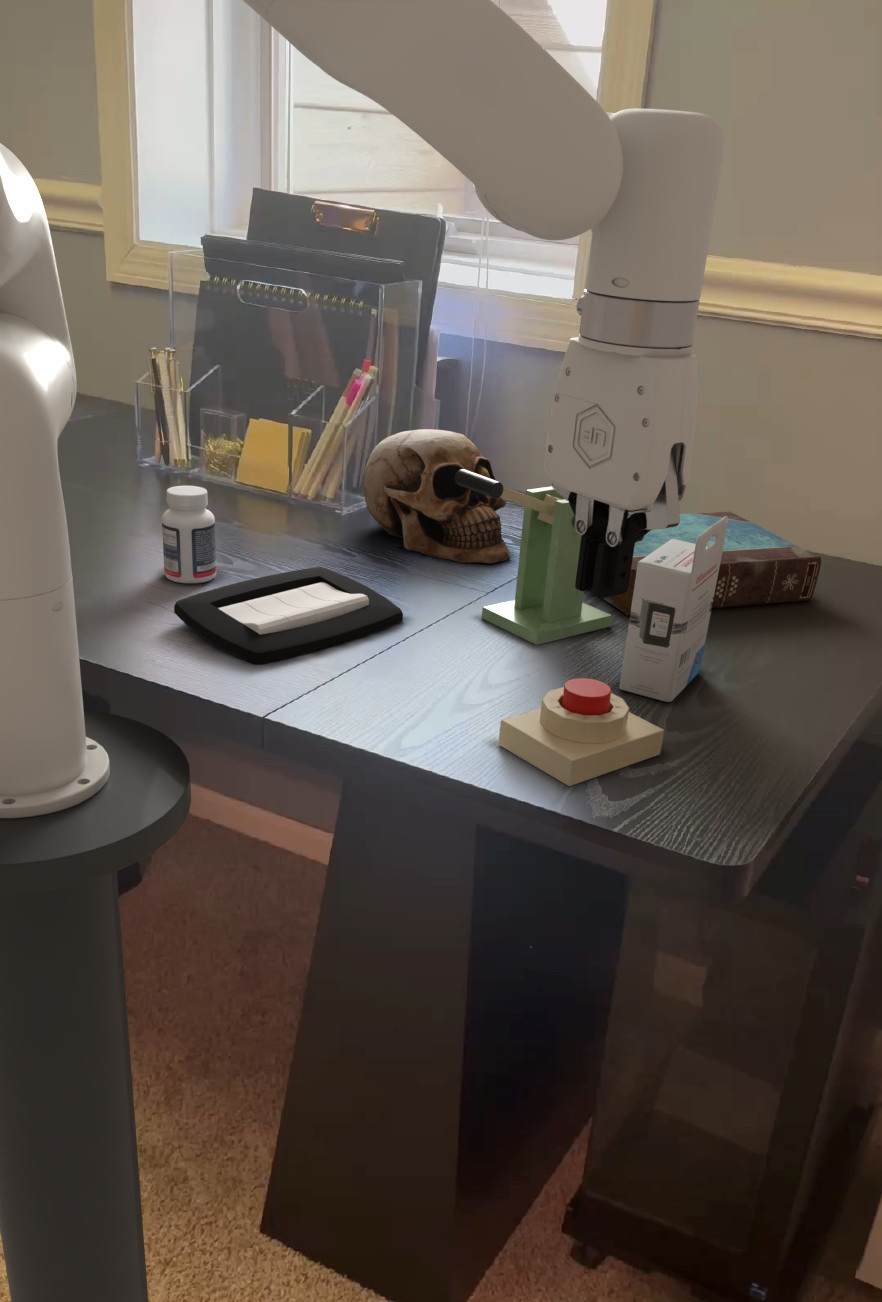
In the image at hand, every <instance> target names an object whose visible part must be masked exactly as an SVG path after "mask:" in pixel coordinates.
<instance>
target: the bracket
mask: <svg viewBox="0 0 882 1302" xmlns="http://www.w3.org/2000/svg"><path fill="white" fill-rule="evenodd" d="M546 494H547V495H550V496H553V497H555V498H558V499H561V500H557V501H555V507H554V515H553V524H549V523H547V522H544V521H542V520H539V519H537V518H538V515H539V511H536V510H533V509H531V508H528V507H525V506H523V517H522V527H521V536H520V546H519V548H520V549H519V554H518V555H519V556H518V565H517V566H518V567H517V576H516V586H515V597H514V599H513V600H508V601H503V602H500V603H499V602H498V603H495V604H490V605H486V606H482V611H481V619H482V620H485V621H486V622H488V623H491V624H492V625H495V626H497V627H498V628H500V629H503V630H505V631H506V632H509V633H511V634H513V635H515V636H517V637H519V638H521V639H523V640H525V641H527V642H529V643H531V644H533V645H535V646H538V645H543V644H546V643H550V642H554V641H558V640H562V639H567V638H570V637H574V636H578V635H582V634H586V633H589V632H593V631H598V630H602V629H606V628H610V627H611V625H612V619H613V617H612V616H613V615H612V614H610V613H608V612H605V611H603V610H601V609H599V608H596V607H594V606H592V605H590V604H588V603H584V594H585V591H580V590H578V589H576V588H575V582H576V574H577V567H578V559H579V551H580V543H581V537H582V535H579V534H578V533H577V532H576V529H575V515H574V513H573V511H572V508H571V506H570V504H569V501H567V500H566V499H564V498H563V497H562V496H561V495H560V494H559V493H557V492H556V491H555V490H554V489H553V486H552V485H551V486H544V487H539V488H532V489H531V488H530V489H526V490H525V495H528V496H530V497H533V498H536V499H539V500H541V501H544V499H545V496H546Z"/></svg>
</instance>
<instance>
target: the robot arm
mask: <svg viewBox="0 0 882 1302" xmlns="http://www.w3.org/2000/svg"><path fill="white" fill-rule="evenodd" d="M242 1H243V2H244V3H245V4H246V5H248V7H250V8H251V9H252V10H253V11H254V12H255V13H256V14H257V15H258V16H260V17H261V18H262V19H263V20H264V21H265V22H266V23H268V25H270V27H272V28H273V30H274V31H276V32H277V33H278V34H280V35H281V36H282V37H283V38H284V39H285V40H286V41H287V42H288V43H289V44H290V45H292V46H293V47H294V48H295V50H297V51H298V52H299V53H300V54H302V55H303V56H304V57H305V58H306V59H308V60H309V62H311V63H313V64H314V65H315V66H317V67H318V68H319V69H320V70H322V71H323V72H324V73H325V74H326V75H328V76H330V77H331V78H332V79H334V80H336V81H337V82H339V83H341V84H342V85H344V86H346V87H348V88H350V89H352V90H353V91H355V92H357V93H359V94H361V95H363V96H365V97H366V98H368V99H370V100H371V101H373V102H374V103H376V104H378V105H379V106H381V107H382V108H383V109H385V110H386V111H387V112H389V113H390V114H392V116H394V117H395V118H396V119H398V120H399V121H400V122H401V123H403V124H404V125H405V126H407V127H408V128H409V129H410V130H411V131H413V132H414V133H415V134H416V135H418V137H420V138H421V139H422V140H423V141H425V142H426V143H427V144H428V145H429V146H431V148H433V149H434V150H435V151H436V152H437V153H439V154H440V155H441V156H442V157H443V158H444V159H446V161H448V162H449V163H450V164H451V165H452V166H454V168H456V169H457V170H458V171H459V172H460V173H461V174H462V175H463V176H464V177H466V179H468V181H470V182H471V183H472V186H473V189H474V192H475V194H476V196H477V198H478V200H479V202H480V203H481V205H482V206H483V208H485V209H486V211H487V212H488V213H489V214H490V215H491V216H492V217H493V218H495V219H496V220H497V221H499V222H500V223H501V224H503V225H506V226H507V227H509V228H512V229H514V230H516V231H519V232H523V233H525V234H527V235H530V236H532V237H534V238H537V239H540V240H547V241H564V240H569V239H570V240H571V239H573V238H576V237H579V236H581V235H583V234H585V233H587V232H588V231H590V236H589V237H590V238H589V246H588V254H587V262H586V270H585V281H584V290H583V295H582V296H580V297H579V299H578V300H577V303H576V312H577V314H578V315H579V316H580V324H579V334H578V336H576V337H571V338H570V340H569V342H568V345H567V348H566V351H565V354H564V357H563V360H562V362H561V363H562V364H561V367H560V370H559V374H558V378H557V383H556V387H555V391H554V396H553V401H552V406H551V412H550V417H549V424H548V429H547V436H546V443H545V451H544V459H543V462H544V463H543V468H544V469H543V470H544V475H545V476H546V478H547V479H548V480H549V481H550V482H551V484H552V485H551V486H553V489H554V490H555V491H556V492H557V493H559V494H560V495H561V496H562V497H563V498H564V499H566V500H567V501H569V504H570V506H571V508H572V511H573V513H574V515H575V529H576V532H577V533H578V534H579V535H582V537H581V543H580V551H579V559H578V567H577V574H576V582H575V588H576V589H578V590H580V591H584V592H587V591H591V590H592V591H591V594H592V596H593V597H594V598H596V599H599V600H602V599H603V598H607V597H611V596H615V595H620V594H624V593H626V592H627V590H628V586H629V580H630V573H631V567H632V560H633V553H634V546H635V543H636V542H641V541H642V540H643V539H644V536H645V535H646V534H647V533H648V532H649V531H651V530H654V529H666V528H671V527H676V526H678V525H679V523H680V514H681V513H680V501H682V500H683V499H684V497H685V494H686V492H687V491H686V490H687V487H688V483H689V479H690V474H691V468H692V463H693V454H694V448H695V440H696V439H695V438H696V437H695V436H696V429H697V428H696V427H697V414H698V394H699V393H698V391H699V388H698V382H699V381H698V380H699V378H698V376H699V375H698V373H699V372H698V371H699V370H698V355H697V354H695V353H693V346H694V338H695V332H696V326H697V322H698V321H697V320H698V313H699V307H700V302H701V296H702V290H703V284H704V278H705V272H706V265H707V258H708V252H709V246H710V241H711V240H710V239H711V234H712V228H713V222H714V221H713V220H714V213H715V208H716V202H717V197H718V196H717V195H718V191H719V190H718V189H719V184H720V183H719V182H720V178H721V177H720V176H721V172H722V171H721V170H722V164H723V160H724V159H723V158H724V150H725V149H724V148H725V133H724V130H723V127H722V124H721V123H720V122H719V121H718V120H717V119H716V118H714V117H713V116H711V115H709V114H705V113H703V112H696V111H688V110H677V109H676V110H675V109H664V108H662V109H661V108H643V107H642V108H640V107H633V108H625V109H622V110H619V111H617V112H608V111H605V109H604V108H603V107H602V105H601V104H600V103H599V102H598V101H597V100H596V99H595V98H594V96H592V95H591V94H590V93H589V92H588V91H587V89H586V88H585V87H584V86H582V84H581V83H580V82H578V80H577V79H576V78H574V77H573V75H571V74H570V73H569V72H568V71H567V70H566V68H564V66H562V64H561V63H559V62H558V61H557V60H556V59H555V58H554V56H552V55H551V54H550V53H549V52H548V51H547V50H546V49H545V48H544V47H543V46H542V45H541V44H540V43H539V42H538V41H537V40H536V39H535V38H534V37H533V36H532V35H531V34H530V33H529V32H527V30H525V28H523V27H522V26H521V25H520V24H519V23H518V22H517V21H516V20H515V19H514V18H512V16H510V15H509V14H508V13H507V12H506V11H505V10H504V9H502V8H501V6H499V5H498V4H497V3H496V2H494V0H242ZM73 351H74V350H73V345H72V341H71V334H70V330H69V325H68V320H67V314H66V308H65V303H64V298H63V293H62V287H61V282H60V277H59V272H58V267H57V260H56V256H55V250H54V244H53V240H52V235H51V230H50V225H49V221H48V217H47V212H46V210H45V206H44V203H43V199H42V197H41V194H40V192H39V189H38V186H37V185H36V182H35V181H34V179H33V177H32V175H31V173H30V172H29V170H28V169H27V168H26V166H25V164H23V163H22V161H21V160H20V159H19V158H18V157H17V156H16V155H15V153H13V152H12V151H11V150H10V149H9V148H8V147H7V146H5V145H4V144H2V143H1V142H0V819H14V818H26V817H34V816H40V815H46V814H50V813H54V812H57V811H61V810H65V809H67V808H70V807H72V806H75V805H77V804H79V803H81V802H83V801H85V800H87V799H89V798H90V797H92V796H93V795H94V794H95V793H97V792H98V791H99V790H101V788H102V787H103V786H104V785H105V783H106V782H107V780H108V777H109V775H110V765H109V758H108V754H107V752H106V751H105V750H104V748H103V747H102V746H101V745H99V744H98V743H97V742H95V741H94V740H92V739H90V738H88V737H86V734H85V722H84V710H83V709H84V699H83V688H82V687H83V686H82V677H81V675H82V673H81V664H80V662H81V661H80V649H79V640H78V639H79V638H78V626H77V614H76V603H75V591H74V590H75V589H74V579H73V572H72V571H73V570H72V559H71V547H70V546H71V545H70V539H69V538H70V537H69V530H68V521H67V513H66V507H65V501H64V495H63V489H62V481H61V475H60V466H59V453H58V452H59V451H58V446H59V445H58V443H59V442H58V441H59V440H58V439H59V438H60V436H61V434H62V432H63V431H64V429H65V427H66V426H67V424H68V422H69V420H70V418H71V416H72V413H73V410H74V407H75V404H76V398H77V393H78V392H77V387H78V382H77V370H76V363H75V357H74V352H73ZM629 514H630V516H629ZM628 517H629V518H628Z"/></svg>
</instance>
